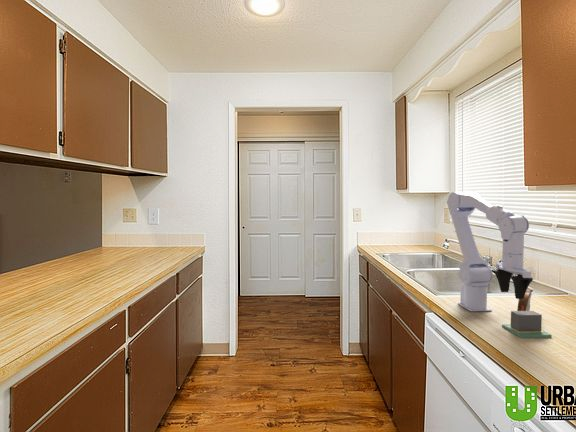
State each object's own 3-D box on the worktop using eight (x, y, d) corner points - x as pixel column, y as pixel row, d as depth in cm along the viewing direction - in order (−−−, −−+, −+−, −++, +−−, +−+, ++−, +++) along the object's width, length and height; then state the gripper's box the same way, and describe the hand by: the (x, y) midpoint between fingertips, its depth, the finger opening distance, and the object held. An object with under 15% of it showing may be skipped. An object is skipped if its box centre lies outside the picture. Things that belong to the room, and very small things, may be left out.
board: (502, 326, 112) (502, 317, 112) (530, 326, 112) (530, 317, 112) (520, 337, 103) (521, 327, 103) (551, 337, 103) (551, 327, 103)
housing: (510, 327, 110) (510, 311, 109) (532, 326, 110) (532, 310, 109) (518, 331, 106) (519, 315, 105) (541, 331, 106) (541, 314, 105)
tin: (521, 309, 129) (522, 287, 128) (531, 311, 127) (532, 288, 126) (515, 321, 117) (516, 296, 116) (527, 323, 115) (527, 298, 114)
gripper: (487, 250, 121) (486, 289, 121) (515, 257, 106) (513, 301, 107) (508, 249, 121) (507, 289, 121) (538, 257, 106) (537, 301, 107)
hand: (511, 295), depth 114 cm, fingers open, 7 cm apart
